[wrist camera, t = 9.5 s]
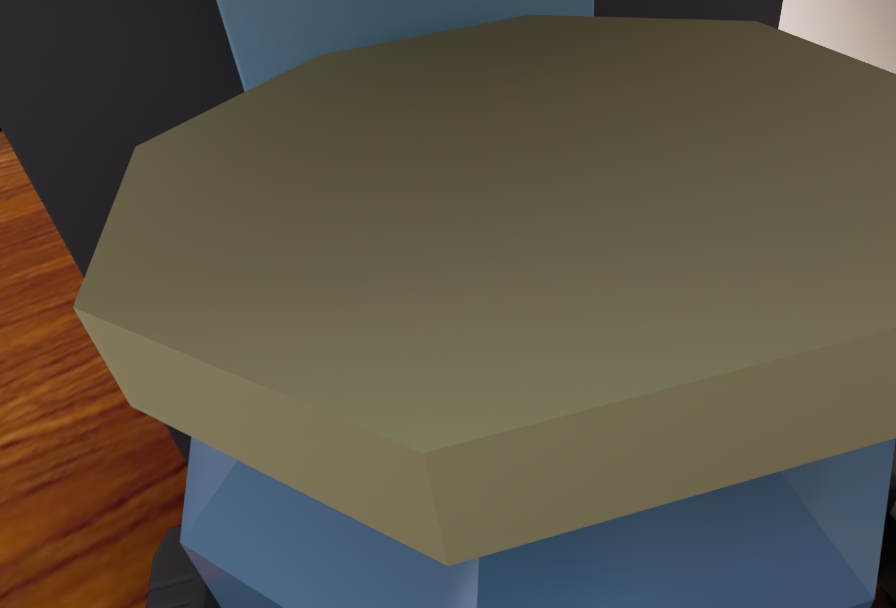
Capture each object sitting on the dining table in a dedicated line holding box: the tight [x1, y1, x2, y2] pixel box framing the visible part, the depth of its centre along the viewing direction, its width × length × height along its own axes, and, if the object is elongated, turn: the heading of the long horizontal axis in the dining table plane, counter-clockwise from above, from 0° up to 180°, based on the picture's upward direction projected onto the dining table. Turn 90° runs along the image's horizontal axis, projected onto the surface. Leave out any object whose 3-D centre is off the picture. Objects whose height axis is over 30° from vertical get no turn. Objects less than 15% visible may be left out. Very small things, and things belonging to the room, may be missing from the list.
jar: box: [73, 15, 896, 608], centre depth 11 cm, size 9×9×15 cm
